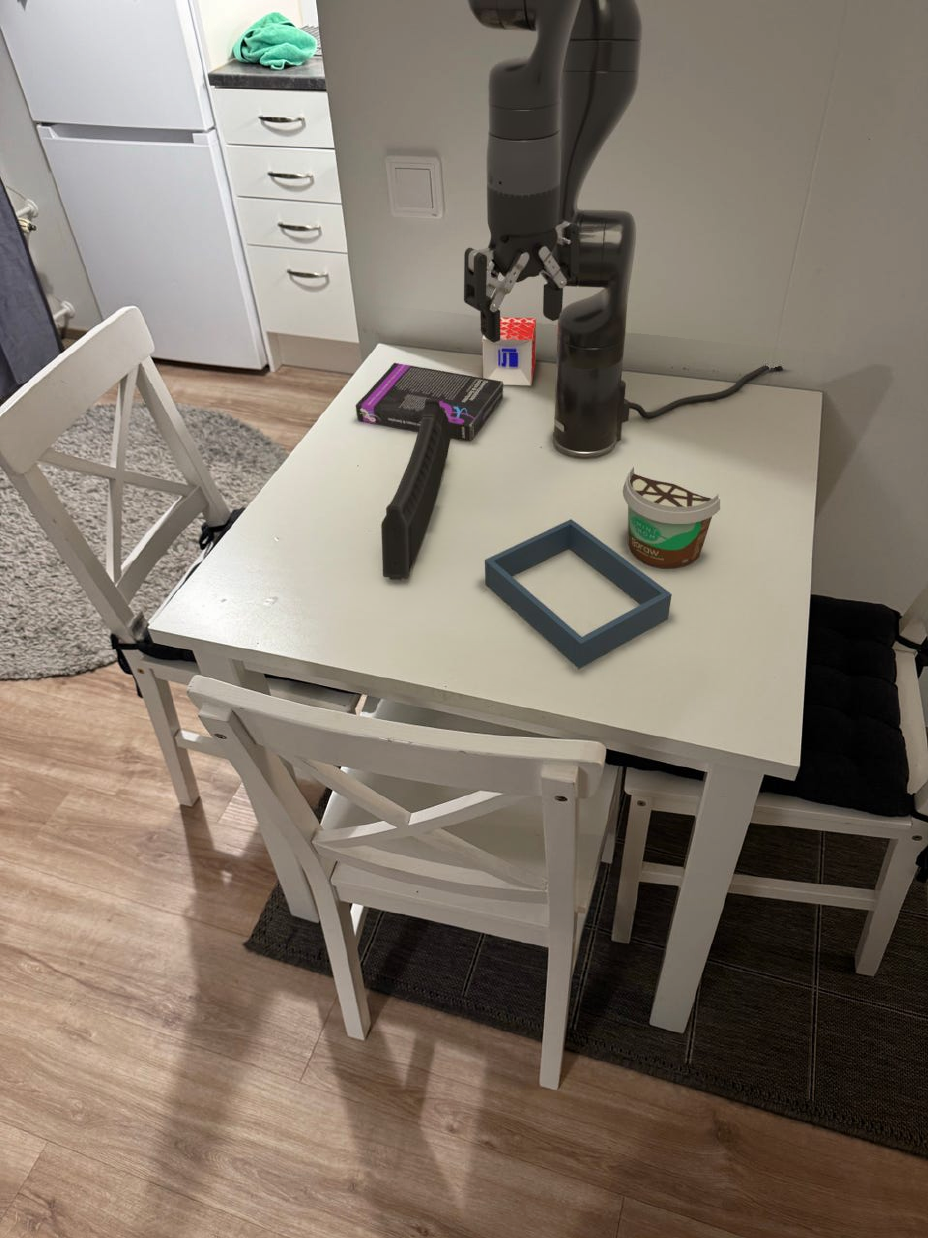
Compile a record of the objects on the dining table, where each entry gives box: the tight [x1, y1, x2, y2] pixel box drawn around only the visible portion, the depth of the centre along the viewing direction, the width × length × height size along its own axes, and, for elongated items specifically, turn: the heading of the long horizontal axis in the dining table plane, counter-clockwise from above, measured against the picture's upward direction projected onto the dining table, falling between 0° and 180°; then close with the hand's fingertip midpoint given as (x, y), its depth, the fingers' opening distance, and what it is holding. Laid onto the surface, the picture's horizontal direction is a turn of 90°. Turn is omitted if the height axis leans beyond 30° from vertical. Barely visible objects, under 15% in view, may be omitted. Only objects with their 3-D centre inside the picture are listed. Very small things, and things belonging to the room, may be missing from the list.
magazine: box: [380, 399, 452, 581], centre depth 120 cm, size 17×3×30 cm
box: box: [354, 362, 504, 443], centre depth 143 cm, size 14×4×20 cm
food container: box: [622, 466, 721, 570], centre depth 112 cm, size 12×6×10 cm, turn 56°
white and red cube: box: [481, 316, 537, 386], centre depth 150 cm, size 8×8×8 cm
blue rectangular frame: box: [484, 518, 673, 669], centre depth 109 cm, size 14×18×4 cm
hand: (522, 328), depth 104 cm, fingers open, 8 cm apart
